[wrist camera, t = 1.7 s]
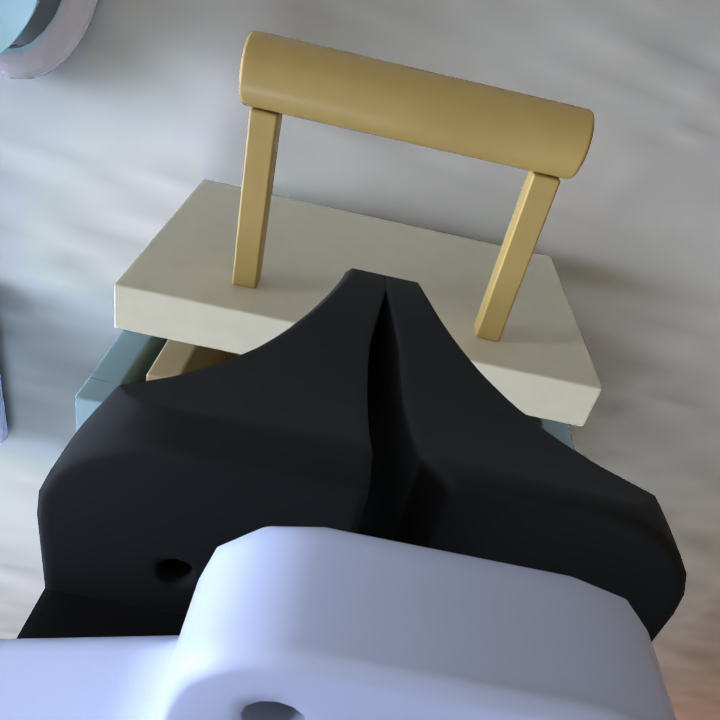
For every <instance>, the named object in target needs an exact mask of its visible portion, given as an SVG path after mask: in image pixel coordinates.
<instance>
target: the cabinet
mask: <svg viewBox="0 0 720 720" xmlns="http://www.w3.org/2000/svg"><path fill="white" fill-rule="evenodd" d="M167 340H168V339H165V338H161V337H156V336H151V335H146V334H142V333H137V332H132V331H128V330H123V331H122V333H121V334H120V336H119V337H118V338H117V340H116V341H115V342H114V344H113V345H112V346H111V348H110V349H109V351H108V352H107V353H106V355H105V356H104V357H103V359H102V360H101V362H100V363H99V364H98V366H97V367H96V368H95V370H94V371H93V372H92V374H91V375H90V377H89V379H88V380H87V381H86V382H85V384H84V385H83V386H82V388H81V389H80V390H79V392H78V393H77V395H76V396H75V408H76V427H77V431H78V429H79V428H80V427H81V425H82V424H83V423H84V422H85V421H86V420H87V419H88V417H89V416H90V415H91V414H92V413H93V412H94V411H95V410H96V408H98V407H99V406H100V405H101V404H102V402H103V401H104V400H105V399H106V398H107V397H108V396H109V395H110V394H111V393H112V392H113V390H114V389H115V388H116V387H117V386H119V385H124V384H132V383H137V382H143V381H146V375H147V373H148V372H149V370H150V368H151V367H152V365H153V363H154V362H155V360H156V358H157V357H158V355H159V354H160V352H161V350H162V349H163V347H164V345H165V344H166V342H167ZM527 416H528V417H529V418H530V419H532V420H533V421H534V422H535V423H537V424H538V425H539V426H540V427H542V428H543V429H544V430H546V431H547V432H548V433H550V434H551V435H553V436H554V437H555V438H557V439H558V440H560V441H561V442H562V443H564V444H565V445H567V446H569V447H570V448H572V449H573V450H575V449H574V446H573V443H572V439H571V436H570V432H569V429H568V426H567V423H562V422H558V421H553V420H548V419H544V418H539V417H534V416H529V415H527Z"/></svg>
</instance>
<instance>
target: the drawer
mask: <svg viewBox="0 0 720 720" xmlns="http://www.w3.org/2000/svg"><path fill="white" fill-rule="evenodd" d="M239 96H240V100H241V102H242V103H243V104H244V105H247V106H251V107H252V108H251V109H250V111H249V121H248V131H247V140H246V150H245V160H244V169H243V179H242V188H241V187H236V186H232V185H228V184H223V183H219V182H214V181H210V180H205V179H204V180H202V182H201V183H200V184H199V185H198V186H197V188H196V189H195V190H194V191H193V192H192V193H191V195H190V196H189V197H188V198H187V199H186V200H185V202H184V203H183V204H182V205H181V206H180V207H179V209H178V210H177V211H176V212H175V213H174V214H173V216H172V217H171V218H170V219H169V220H168V222H167V223H166V224H165V225H164V226H163V227H162V229H161V230H160V231H159V232H158V233H157V234H156V236H155V237H154V238H153V239H152V240H151V241H150V243H149V244H148V245H147V246H146V247H145V248H144V250H143V251H142V252H141V253H140V254H139V256H138V257H137V258H136V259H135V260H134V261H133V263H132V264H131V265H130V266H129V267H128V268H127V270H126V271H125V272H124V273H123V274H122V275H121V277H120V278H119V279H118V280H117V281H116V282H115V284H114V323H115V328H118V329H123V330H128V331H132V332H137V333H142V334H146V335H151V336H156V337H161V338H165V339H168V340H167V342H166V344H165V345H164V347H163V349H162V350H161V352H160V354H159V355H158V357H157V358H156V360H155V362H154V363H153V365H152V367H151V368H150V370H149V372H148V373H147V375H146V381H149V380H155V379H161V378H166V377H172V376H176V375H181V374H185V373H189V372H192V371H196V370H200V369H203V368H207V367H210V366H213V365H216V364H219V363H222V362H225V361H228V360H230V359H232V358H235V357H237V356H239V355H242V354H244V353H246V352H249V351H251V350H253V349H255V348H258V347H259V346H261V345H263V344H265V343H266V342H268V341H270V340H272V339H273V338H275V337H276V336H278V335H280V334H281V333H283V332H284V331H286V330H287V329H288V328H290V327H291V326H292V325H294V324H295V323H296V322H298V321H299V320H300V319H301V318H303V317H304V316H305V315H306V314H308V313H309V312H310V311H311V310H313V309H314V308H315V307H316V306H317V305H318V304H319V303H320V302H321V301H322V300H323V299H324V298H325V297H326V296H327V295H328V294H329V293H330V292H331V291H332V290H333V289H334V288H335V287H336V285H337V284H338V283H339V282H340V280H341V279H342V278H343V276H344V274H345V272H347V271H349V270H350V269H352V268H354V269H359V270H363V271H368V272H373V273H377V274H382V275H386V276H391V277H395V278H400V279H404V280H409V281H414V282H418V283H419V285H420V286H421V288H422V290H423V291H424V293H425V295H426V296H427V298H428V300H429V302H430V303H431V305H432V307H433V308H434V310H435V312H436V313H437V315H438V316H439V318H440V320H441V321H442V323H443V324H444V326H445V327H446V329H447V330H448V332H449V333H450V334H451V336H452V337H453V339H454V340H455V341H456V343H457V344H458V345H459V347H460V348H461V349H462V351H463V352H464V353H465V354H466V355H467V357H468V358H469V359H470V360H471V362H472V363H473V364H474V365H475V366H476V368H477V369H478V370H479V371H480V372H481V373H482V374H483V375H484V376H485V378H486V379H487V380H488V381H489V382H490V383H491V384H492V385H493V386H494V387H495V388H497V389H498V390H499V391H500V392H501V393H502V394H503V395H504V396H505V397H506V398H507V399H508V400H509V401H510V402H511V403H512V404H513V405H515V406H516V407H517V408H518V409H519V410H520V411H522V412H523V413H524V414H525V415H529V416H534V417H539V418H544V419H548V420H553V421H558V422H562V423H567V424H572V425H577V426H581V427H582V426H584V424H585V423H586V421H587V419H588V417H589V415H590V413H591V411H592V409H593V407H594V405H595V403H596V401H597V399H598V397H599V395H600V394H601V392H602V386H601V383H600V381H599V378H598V375H597V373H596V370H595V368H594V365H593V363H592V360H591V358H590V355H589V353H588V350H587V348H586V345H585V342H584V340H583V337H582V335H581V332H580V330H579V327H578V325H577V322H576V320H575V317H574V315H573V312H572V309H571V307H570V304H569V302H568V299H567V297H566V294H565V292H564V289H563V287H562V284H561V281H560V279H559V276H558V274H557V271H556V269H555V266H554V264H553V261H552V259H551V257H549V256H545V255H540V254H536V253H533V251H534V249H535V246H536V243H537V241H538V238H539V236H540V233H541V230H542V228H543V225H544V223H545V220H546V218H547V215H548V212H549V210H550V207H551V205H552V202H553V199H554V197H555V194H556V192H557V189H558V186H559V184H560V180H559V178H558V177H560V178H564V179H570V178H572V177H574V176H575V175H576V173H577V172H578V170H579V169H580V167H581V166H582V164H583V162H584V160H585V158H586V155H587V153H588V150H589V147H590V144H591V140H592V136H593V131H594V114H593V112H592V111H591V110H589V109H586V108H581V107H577V106H573V105H569V104H564V103H560V102H556V101H552V100H547V99H543V98H539V97H535V96H531V95H526V94H522V93H518V92H514V91H509V90H505V89H501V88H497V87H492V86H488V85H484V84H480V83H475V82H471V81H467V80H463V79H459V78H454V77H450V76H446V75H442V74H437V73H433V72H429V71H425V70H420V69H416V68H412V67H408V66H403V65H399V64H395V63H391V62H386V61H382V60H378V59H374V58H370V57H365V56H361V55H357V54H353V53H348V52H344V51H340V50H336V49H331V48H327V47H323V46H319V45H314V44H310V43H306V42H302V41H297V40H293V39H289V38H285V37H281V36H276V35H272V34H268V33H264V32H259V31H251V32H250V33H249V35H248V37H247V39H246V42H245V45H244V49H243V53H242V58H241V64H240V72H239ZM282 114H286V115H290V116H295V117H299V118H303V119H308V120H312V121H316V122H321V123H325V124H329V125H334V126H338V127H342V128H347V129H351V130H355V131H360V132H364V133H368V134H373V135H377V136H381V137H386V138H390V139H394V140H399V141H403V142H408V143H412V144H416V145H421V146H425V147H429V148H434V149H438V150H442V151H447V152H451V153H455V154H460V155H464V156H468V157H473V158H477V159H481V160H486V161H490V162H494V163H499V164H503V165H507V166H512V167H516V168H520V169H525V170H528V173H527V176H526V179H525V182H524V184H523V187H522V190H521V193H520V196H519V199H518V201H517V204H516V207H515V210H514V213H513V216H512V218H511V221H510V224H509V227H508V230H507V233H506V235H505V238H504V241H503V244H502V246H500V245H495V244H491V243H486V242H482V241H478V240H473V239H469V238H464V237H460V236H455V235H451V234H446V233H442V232H437V231H433V230H428V229H424V228H420V227H415V226H411V225H406V224H402V223H397V222H393V221H388V220H384V219H379V218H375V217H370V216H366V215H361V214H357V213H353V212H348V211H344V210H339V209H335V208H330V207H326V206H321V205H317V204H312V203H308V202H303V201H299V200H295V199H290V198H286V197H281V196H277V195H272V188H273V180H274V173H275V165H276V157H277V150H278V142H279V135H280V127H281V119H282Z"/></svg>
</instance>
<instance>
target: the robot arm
mask: <svg viewBox="0 0 720 720" xmlns="http://www.w3.org/2000/svg"><path fill="white" fill-rule="evenodd" d="M7 437H8V429H7V422H6V414H5V407H4V399H3V392H2V384H1V376H0V444H2V443H3V442H4V441H5V440H6V439H7ZM37 516H38V525H39V534H40V544H41V553H42V562H43V571H44V580H45V589H44V591H43V593H42V595H41V596H40V598H39V600H38V602H37V603H36V605H35V607H34V609H33V610H32V612H31V614H30V616H29V617H28V619H27V621H26V623H25V625H24V626H23V628H22V630H21V632H20V633H19V635H18V637H17V639H0V720H676V717H675V714H674V711H673V708H672V705H671V701H670V698H669V695H668V692H667V689H666V686H665V683H664V680H663V677H662V673H661V670H660V667H659V664H658V661H657V658H656V655H655V652H654V649H653V646H652V641H653V639H654V638H655V637H656V635H657V634H658V633H659V632H660V630H661V629H662V628H663V627H664V625H665V624H666V623H667V621H668V620H669V619H670V618H671V616H672V615H673V614H674V612H675V610H676V608H677V607H678V605H679V603H680V601H681V599H682V597H683V596H684V592H685V583H686V571H685V568H684V565H683V562H682V559H681V556H680V553H679V550H678V548H677V545H676V543H675V540H674V538H673V535H672V532H671V530H670V527H669V525H668V523H667V521H666V518H665V516H664V514H663V512H662V509H661V507H660V505H659V503H658V501H657V499H656V497H655V496H654V495H652V494H651V493H649V492H647V491H645V490H643V489H641V488H639V487H638V486H636V485H634V484H632V483H630V482H628V481H626V480H625V479H623V478H621V477H619V476H617V475H615V474H613V473H611V472H610V471H608V470H606V469H604V468H602V467H600V466H599V465H597V464H595V463H594V462H592V461H590V460H589V459H587V458H586V457H584V456H583V455H581V454H579V453H578V452H576V451H575V450H573V449H572V448H570V447H569V446H567V445H565V444H564V443H562V442H561V441H560V440H558V439H557V438H555V437H554V436H553V435H551V434H550V433H548V432H547V431H546V430H544V429H543V428H542V427H540V426H539V425H538V424H537V423H535V422H534V421H533V420H532V419H530V418H529V417H528V416H527V415H525V414H524V413H523V412H522V411H520V410H519V409H518V408H517V407H516V406H515V405H513V404H512V403H511V402H510V401H509V400H508V399H507V398H506V397H505V396H504V395H503V394H502V393H501V392H500V391H499V390H498V389H497V388H495V387H494V386H493V385H492V384H491V383H490V382H489V381H488V380H487V379H486V378H485V376H484V375H483V374H482V373H481V372H480V371H479V370H478V369H477V368H476V366H475V365H474V364H473V363H472V362H471V360H470V359H469V358H468V357H467V355H466V354H465V353H464V352H463V351H462V349H461V348H460V347H459V345H458V344H457V343H456V341H455V340H454V339H453V337H452V336H451V334H450V333H449V332H448V330H447V329H446V327H445V326H444V324H443V323H442V321H441V320H440V318H439V316H438V315H437V313H436V312H435V310H434V308H433V307H432V305H431V303H430V302H429V300H428V298H427V296H426V295H425V293H424V291H423V290H422V288H421V286H420V285H419V283H418V282H414V281H409V280H404V279H400V278H395V277H391V276H386V275H382V274H377V273H373V272H368V271H363V270H359V269H354V268H352V269H350V270H349V271H347V272H345V274H344V276H343V278H342V279H341V280H340V282H339V283H338V284H337V285H336V287H335V288H334V289H333V290H332V291H331V292H330V293H329V294H328V295H327V296H326V297H325V298H324V299H323V300H322V301H321V302H320V303H319V304H318V305H317V306H316V307H315V308H314V309H313V310H311V311H310V312H309V313H308V314H306V315H305V316H304V317H303V318H301V319H300V320H299V321H298V322H296V323H295V324H294V325H292V326H291V327H290V328H288V329H287V330H286V331H284V332H283V333H281V334H280V335H278V336H276V337H275V338H273V339H272V340H270V341H268V342H266V343H265V344H263V345H261V346H259V347H258V348H255V349H253V350H251V351H249V352H246V353H244V354H242V355H239V356H237V357H235V358H232V359H230V360H228V361H225V362H222V363H219V364H216V365H213V366H210V367H207V368H203V369H200V370H196V371H192V372H189V373H185V374H181V375H176V376H172V377H166V378H161V379H155V380H149V381H143V382H137V383H132V384H124V385H119V386H117V387H116V388H115V389H114V390H113V392H112V393H111V394H110V395H109V396H108V397H107V398H106V399H105V400H104V401H103V402H102V404H101V405H100V406H99V407H98V408H96V410H95V411H94V412H93V413H92V414H91V415H90V416H89V417H88V419H87V420H86V421H85V422H84V423H83V424H82V425H81V427H80V428H79V429H78V431H77V432H76V433H75V435H74V436H73V438H72V439H71V440H70V442H69V443H68V445H67V446H66V448H65V449H64V451H63V452H62V454H61V455H60V457H59V458H58V460H57V461H56V463H55V464H54V466H53V467H52V469H51V470H50V472H49V474H48V476H47V478H46V479H45V481H44V483H43V485H42V487H41V488H40V490H39V498H38V509H37Z"/></svg>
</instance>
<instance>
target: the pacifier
mask: <svg viewBox="0 0 720 720" xmlns="http://www.w3.org/2000/svg"><path fill="white" fill-rule="evenodd" d="M39 1H40V0H0V74H1V75H4V76H6V77H9V78H11V79H32V78H35V77H37V76H40V75H43V74H46V73H49V72H51V71H52V70H53V69H55V68H56V67H57V66H58V65H60V64H61V63H62V62H63V61H65V60H66V59H67V58H68V57H69V56H70V55H71V53H72V52H73V51H74V49H75V48H76V46H77V45H78V44H79V42H80V41H81V40H82V38H83V37H84V34H85V32H86V30H87V28H88V26H89V23H90V21H91V19H92V17H93V14H94V12H95V9H96V4H97V0H61V2H60V4H59V7H58V9H57V12H56V14H55V16H54V17H53V19H52V20H51V22H50V23H49V25H48V26H47V28H46V29H45V30H44V32H43V33H41V34H40V35H39V36H38V37H37V38H36V39H34V40H33V41H32V42H31V43H29V44H26V45H12V44H13V42H14V41H15V40H16V39H17V38H18V37H19V36H20V35H21V34H22V32H23V31H24V29H25V28H26V26H27V25H28V23H29V22H30V20H31V18H32V17H33V15H34V13H35V11H36V9H37V6H38V4H39Z"/></svg>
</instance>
